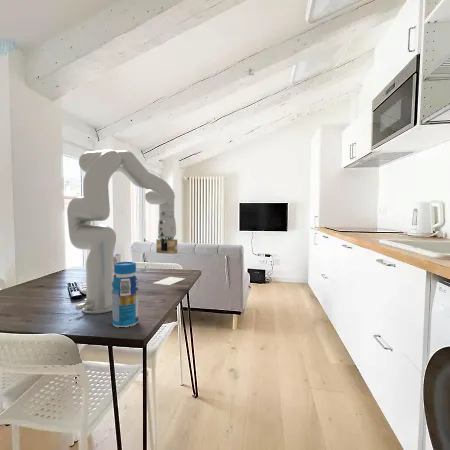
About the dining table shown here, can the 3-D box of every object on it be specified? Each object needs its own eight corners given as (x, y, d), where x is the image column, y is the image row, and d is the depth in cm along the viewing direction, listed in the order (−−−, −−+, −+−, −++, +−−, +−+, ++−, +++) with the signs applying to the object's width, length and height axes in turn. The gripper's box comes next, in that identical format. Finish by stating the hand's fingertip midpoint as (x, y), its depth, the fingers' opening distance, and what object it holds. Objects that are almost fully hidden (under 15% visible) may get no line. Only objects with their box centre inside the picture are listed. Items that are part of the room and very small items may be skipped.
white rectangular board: (169, 285, 146) (169, 285, 146) (152, 283, 150) (152, 283, 150) (185, 279, 161) (185, 278, 161) (170, 277, 165) (170, 276, 165)
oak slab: (173, 254, 147) (173, 240, 147) (156, 252, 151) (156, 239, 150) (177, 253, 151) (177, 239, 150) (161, 251, 154) (161, 238, 154)
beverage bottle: (106, 326, 94) (105, 264, 93) (123, 317, 102) (123, 260, 101) (127, 330, 91) (127, 266, 90) (144, 320, 99) (143, 262, 98)
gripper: (163, 214, 141) (163, 252, 141) (181, 214, 156) (181, 248, 157) (150, 214, 144) (150, 251, 144) (169, 214, 159) (169, 248, 160)
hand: (166, 249), depth 151 cm, fingers closed on oak slab, 4 cm apart
